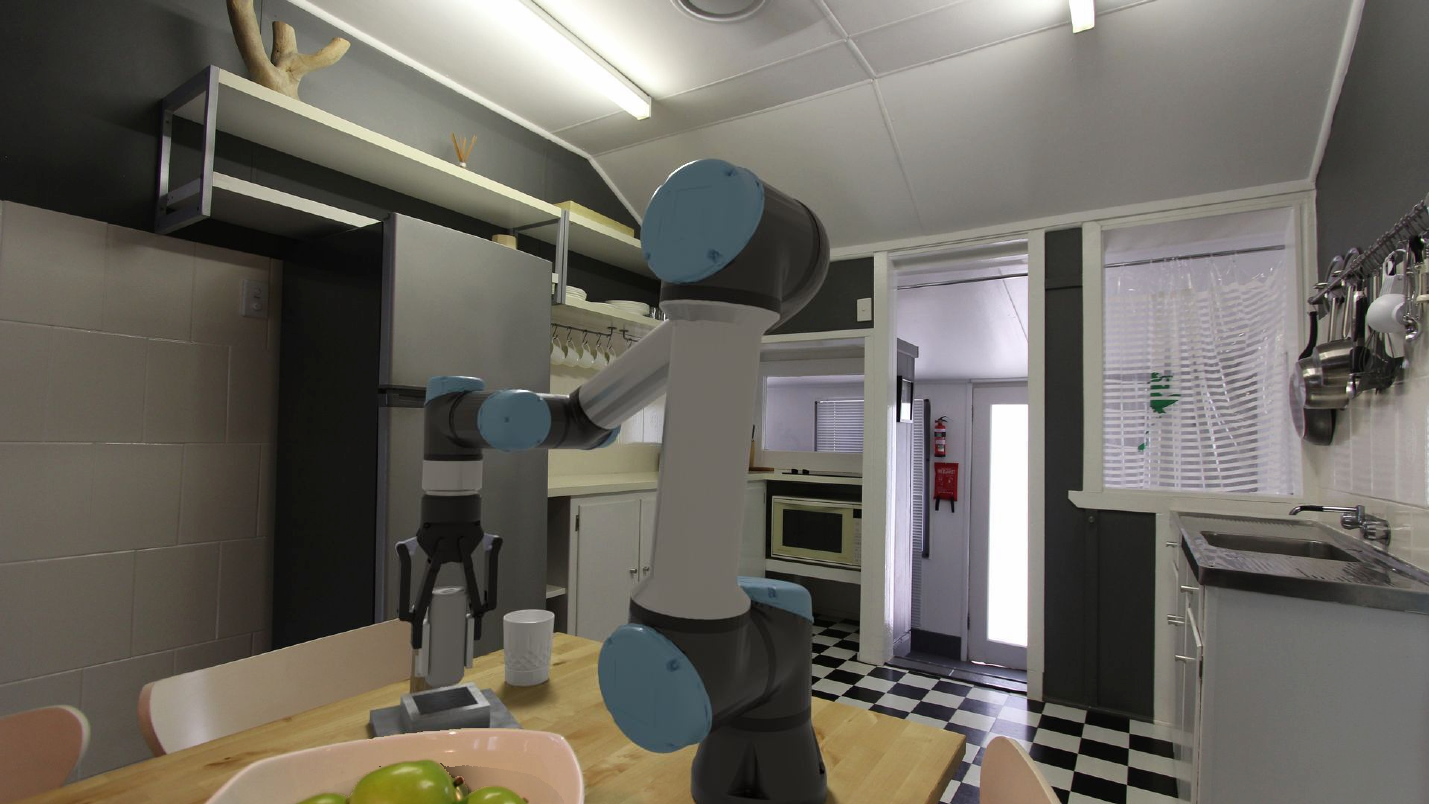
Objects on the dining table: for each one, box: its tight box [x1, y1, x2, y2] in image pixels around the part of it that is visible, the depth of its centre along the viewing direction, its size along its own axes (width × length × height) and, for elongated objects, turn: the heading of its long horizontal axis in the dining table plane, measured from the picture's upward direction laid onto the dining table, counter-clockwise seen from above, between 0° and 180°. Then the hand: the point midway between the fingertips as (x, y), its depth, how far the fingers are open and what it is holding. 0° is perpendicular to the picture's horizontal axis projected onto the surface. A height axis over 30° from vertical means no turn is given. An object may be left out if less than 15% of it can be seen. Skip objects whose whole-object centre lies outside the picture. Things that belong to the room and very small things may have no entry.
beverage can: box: [425, 585, 468, 688], centre depth 89 cm, size 5×5×12 cm
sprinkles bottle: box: [408, 604, 442, 694], centre depth 100 cm, size 5×5×13 cm
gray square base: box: [369, 681, 524, 738], centre depth 88 cm, size 16×16×4 cm
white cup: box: [503, 609, 555, 687], centre depth 107 cm, size 8×8×10 cm
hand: (445, 668), depth 89 cm, fingers closed on beverage can, 5 cm apart
